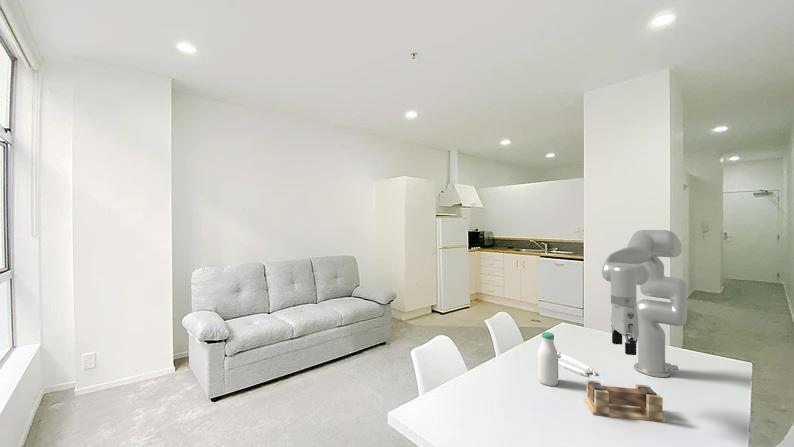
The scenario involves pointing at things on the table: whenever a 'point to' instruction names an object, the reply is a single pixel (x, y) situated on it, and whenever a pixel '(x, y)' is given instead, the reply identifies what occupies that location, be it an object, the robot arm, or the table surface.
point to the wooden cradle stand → (603, 407)
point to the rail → (623, 395)
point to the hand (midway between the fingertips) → (623, 349)
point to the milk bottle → (548, 361)
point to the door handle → (578, 371)
